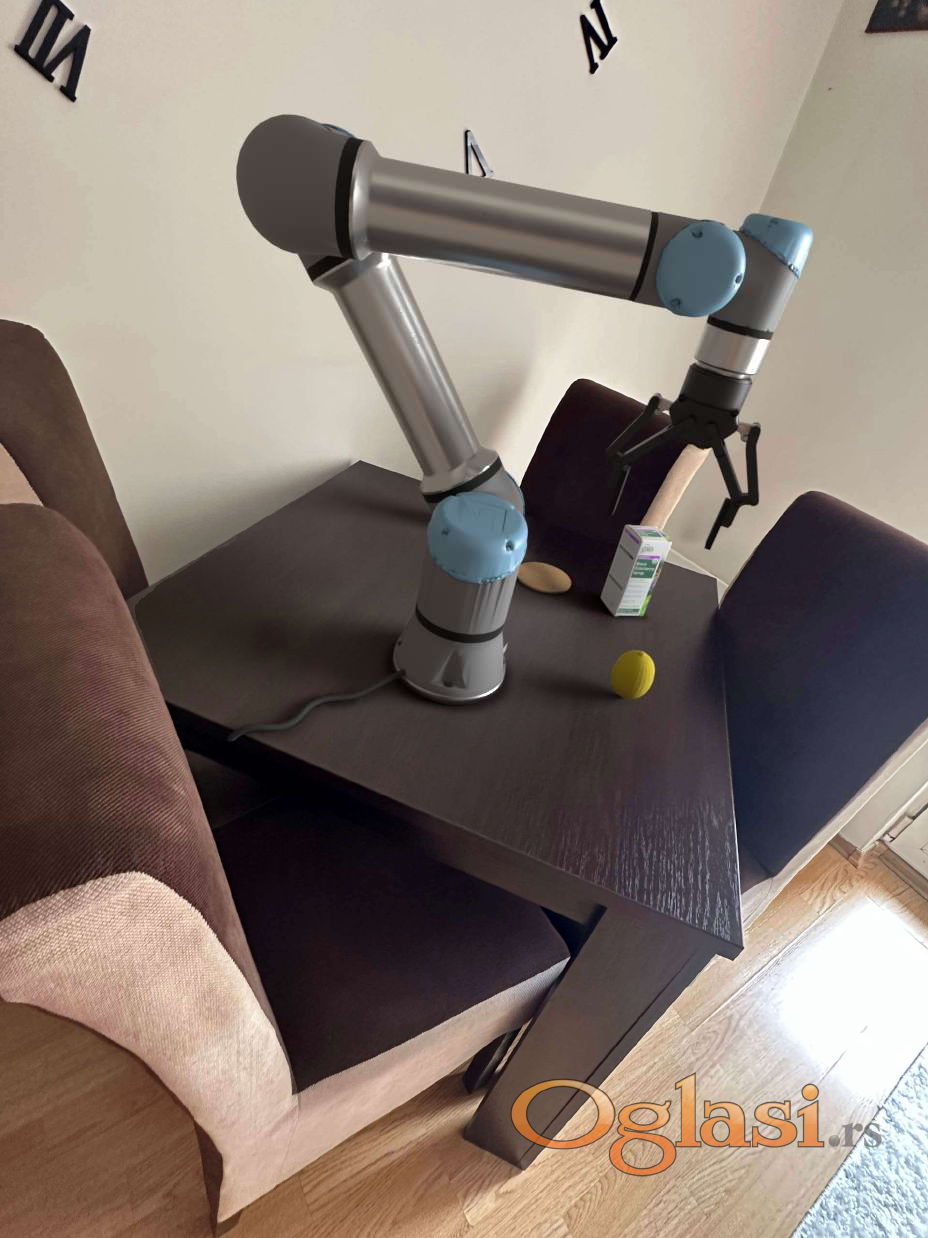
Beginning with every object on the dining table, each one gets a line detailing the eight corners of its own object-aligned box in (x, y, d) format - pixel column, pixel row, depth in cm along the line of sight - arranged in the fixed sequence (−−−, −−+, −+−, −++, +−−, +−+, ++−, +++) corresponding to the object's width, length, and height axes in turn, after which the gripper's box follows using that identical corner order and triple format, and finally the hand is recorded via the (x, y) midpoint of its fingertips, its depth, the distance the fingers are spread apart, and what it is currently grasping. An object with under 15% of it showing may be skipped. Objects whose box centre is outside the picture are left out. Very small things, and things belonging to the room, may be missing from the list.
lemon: (639, 688, 93) (659, 644, 89) (644, 714, 88) (665, 668, 84) (602, 680, 93) (619, 635, 88) (605, 706, 88) (624, 659, 84)
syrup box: (613, 617, 108) (643, 540, 100) (598, 597, 113) (625, 522, 105) (643, 617, 110) (674, 541, 102) (627, 597, 115) (655, 524, 107)
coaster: (545, 599, 109) (545, 597, 109) (503, 570, 114) (504, 568, 114) (581, 585, 115) (582, 583, 115) (541, 559, 121) (541, 557, 120)
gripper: (828, 393, 77) (750, 549, 89) (627, 337, 83) (578, 491, 94) (834, 405, 71) (749, 571, 83) (616, 343, 77) (565, 507, 88)
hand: (658, 529), depth 89 cm, fingers open, 13 cm apart
